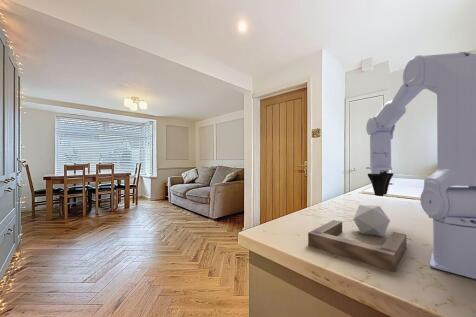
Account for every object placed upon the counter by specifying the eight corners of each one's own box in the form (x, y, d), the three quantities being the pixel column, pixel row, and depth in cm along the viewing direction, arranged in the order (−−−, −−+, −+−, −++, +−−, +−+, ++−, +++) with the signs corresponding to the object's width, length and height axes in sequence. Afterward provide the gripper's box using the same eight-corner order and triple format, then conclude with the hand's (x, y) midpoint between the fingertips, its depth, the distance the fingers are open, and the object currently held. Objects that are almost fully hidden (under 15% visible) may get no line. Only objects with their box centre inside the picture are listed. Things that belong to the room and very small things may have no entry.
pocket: (406, 246, 49) (406, 234, 49) (394, 271, 38) (393, 255, 38) (333, 230, 61) (333, 219, 61) (308, 244, 50) (308, 232, 50)
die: (386, 233, 60) (364, 204, 65) (404, 227, 53) (378, 194, 58) (362, 244, 59) (342, 213, 64) (377, 239, 52) (353, 205, 57)
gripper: (372, 154, 76) (372, 191, 76) (360, 153, 66) (360, 196, 66) (395, 154, 71) (396, 193, 71) (386, 153, 61) (387, 198, 60)
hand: (380, 195), depth 68 cm, fingers open, 4 cm apart
